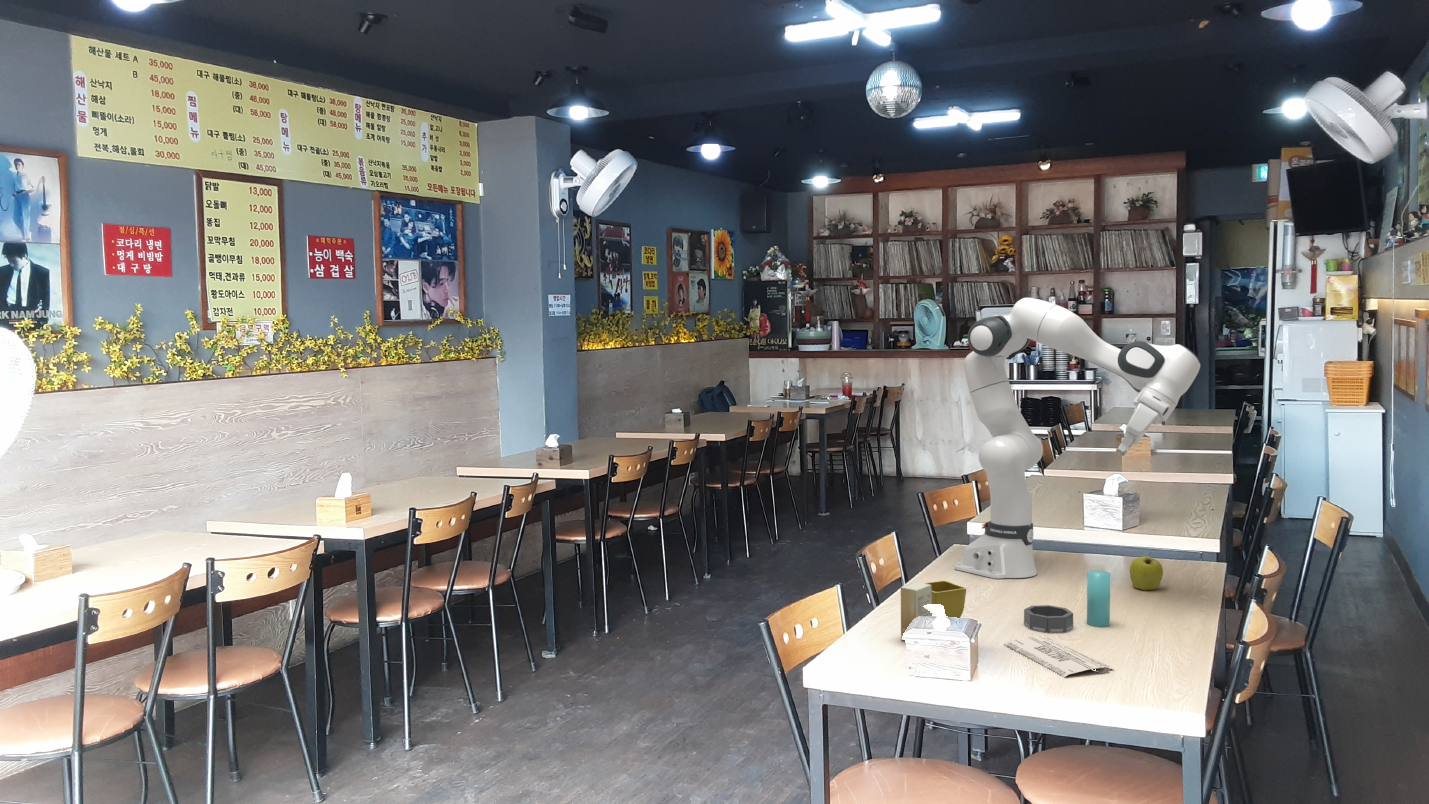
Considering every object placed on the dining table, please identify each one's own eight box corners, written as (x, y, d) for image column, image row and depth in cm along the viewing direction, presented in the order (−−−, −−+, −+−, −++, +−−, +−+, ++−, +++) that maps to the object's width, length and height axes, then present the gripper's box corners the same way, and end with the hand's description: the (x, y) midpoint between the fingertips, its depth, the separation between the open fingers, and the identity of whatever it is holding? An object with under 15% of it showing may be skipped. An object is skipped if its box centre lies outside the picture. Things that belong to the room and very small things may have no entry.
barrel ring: (1016, 627, 239) (1017, 612, 239) (1036, 617, 247) (1036, 602, 247) (1060, 635, 232) (1060, 620, 232) (1079, 625, 240) (1079, 610, 240)
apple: (1128, 578, 278) (1141, 545, 275) (1159, 591, 274) (1171, 557, 271) (1121, 585, 271) (1133, 550, 269) (1151, 598, 267) (1164, 563, 265)
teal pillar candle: (1083, 624, 241) (1083, 573, 240) (1091, 619, 244) (1092, 569, 243) (1104, 628, 237) (1105, 576, 236) (1113, 623, 241) (1113, 572, 240)
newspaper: (1117, 674, 208) (1117, 662, 208) (1065, 687, 205) (1064, 675, 205) (1050, 641, 230) (1050, 630, 230) (1002, 652, 227) (1001, 640, 226)
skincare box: (916, 634, 235) (916, 580, 234) (932, 638, 232) (932, 584, 231) (899, 640, 230) (899, 586, 229) (915, 644, 227) (916, 589, 226)
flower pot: (913, 621, 245) (913, 583, 244) (944, 616, 248) (944, 579, 248) (935, 631, 237) (935, 592, 236) (967, 626, 240) (967, 588, 240)
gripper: (1139, 405, 267) (1108, 450, 267) (1142, 392, 248) (1109, 440, 248) (1162, 419, 264) (1130, 464, 265) (1167, 406, 245) (1133, 455, 246)
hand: (1120, 452), depth 257 cm, fingers open, 8 cm apart
